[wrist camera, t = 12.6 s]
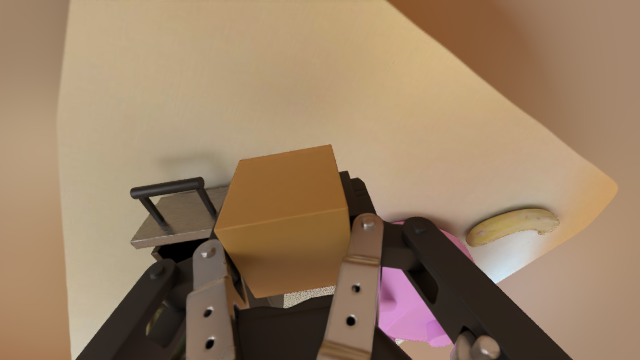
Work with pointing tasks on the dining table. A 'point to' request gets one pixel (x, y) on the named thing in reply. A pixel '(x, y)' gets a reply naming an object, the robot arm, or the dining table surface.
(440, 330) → the teapot
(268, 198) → the light brown cube
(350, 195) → the robot arm
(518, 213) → the fruit
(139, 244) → the cabinet drawer
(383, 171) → the dining table surface
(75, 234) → the dining table surface
